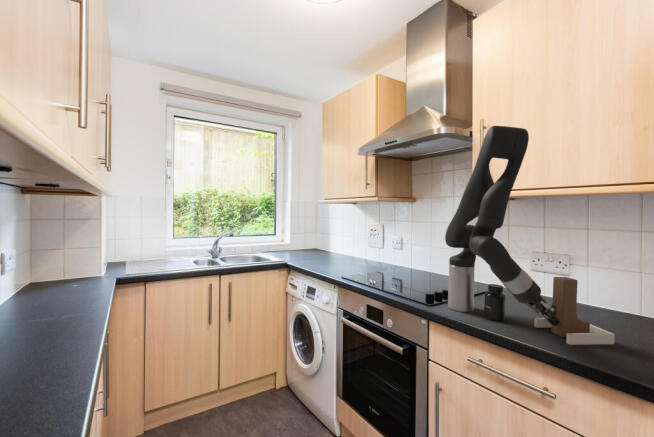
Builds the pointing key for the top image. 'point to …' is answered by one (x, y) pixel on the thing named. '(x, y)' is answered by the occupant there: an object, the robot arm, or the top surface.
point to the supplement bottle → (495, 303)
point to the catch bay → (581, 334)
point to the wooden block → (567, 307)
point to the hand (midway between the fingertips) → (555, 323)
